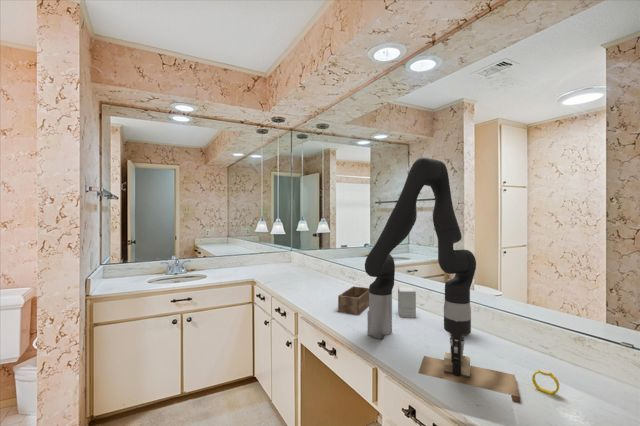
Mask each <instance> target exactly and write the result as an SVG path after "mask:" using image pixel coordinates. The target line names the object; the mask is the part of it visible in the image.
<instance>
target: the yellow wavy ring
mask: <svg viewBox="0 0 640 426" xmlns="http://www.w3.org/2000/svg"><path fill="white" fill-rule="evenodd" d="M537 374H541V375H543V376H547V377H551V378H552V380H553V381H554V382H555V384H556V389H555V390H552V391H550V390H549V389H545V388H543V387H540V385H539V384H538V383H537V381H536V375H537ZM531 381H532V384H533V385H534V387H535V388H536V389H537V390H538V391H541V392H543V393H546V394H547V395H555V394H557V393H558V391H559V390H560V382H559V380H558V378H557V377H556V376H555V375H554V374H553V373H552V371H551V370H549V369H547V368H543V367H542V368H539V369H538V370H536V371H535V372H534V373H533V374H532V378H531Z"/></svg>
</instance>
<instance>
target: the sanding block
mask: <svg viewBox="0 0 640 426" xmlns="http://www.w3.org/2000/svg"><path fill="white" fill-rule="evenodd" d="M454 359H458V358H454ZM443 360H444V372H445V373H449V374H453V363H452V362H451V360H452V357H451V353H450V352H447V351H446V352H444V357H443ZM461 361H462V363H461V376H462V377H467V378H470V365H471V357H470V356H467V355H463V356H461Z"/></svg>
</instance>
